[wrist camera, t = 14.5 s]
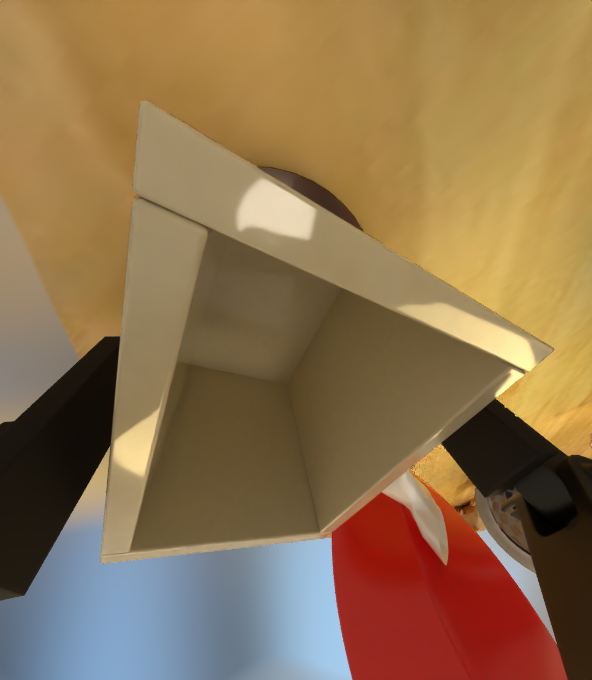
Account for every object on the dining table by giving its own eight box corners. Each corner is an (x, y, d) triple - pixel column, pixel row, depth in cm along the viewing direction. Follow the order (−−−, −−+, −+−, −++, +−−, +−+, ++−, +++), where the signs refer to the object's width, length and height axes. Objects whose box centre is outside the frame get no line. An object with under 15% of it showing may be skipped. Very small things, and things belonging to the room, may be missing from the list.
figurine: (472, 542, 43) (481, 505, 57) (641, 633, 30) (599, 556, 44) (476, 448, 45) (484, 434, 58) (636, 495, 32) (598, 463, 45)
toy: (498, 479, 56) (466, 510, 67) (466, 499, 52) (438, 528, 63) (523, 501, 52) (484, 530, 62) (490, 524, 48) (455, 551, 59)
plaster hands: (432, 575, 13) (337, 532, 18) (449, 561, 17) (367, 529, 21) (415, 362, 21) (350, 369, 25) (429, 385, 24) (371, 387, 29)
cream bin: (226, 181, 10) (137, 92, 2) (366, 258, 14) (557, 349, 5) (173, 388, 16) (96, 587, 8) (279, 405, 20) (303, 556, 11)
